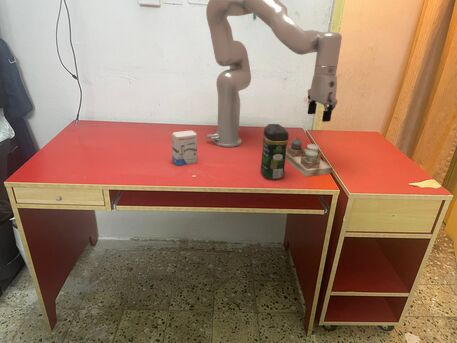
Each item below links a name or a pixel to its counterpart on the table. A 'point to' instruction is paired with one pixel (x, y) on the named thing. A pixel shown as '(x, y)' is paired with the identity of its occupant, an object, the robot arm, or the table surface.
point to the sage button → (311, 155)
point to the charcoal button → (296, 144)
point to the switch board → (307, 163)
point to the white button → (313, 147)
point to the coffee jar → (274, 151)
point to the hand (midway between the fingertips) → (318, 117)
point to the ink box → (184, 147)
